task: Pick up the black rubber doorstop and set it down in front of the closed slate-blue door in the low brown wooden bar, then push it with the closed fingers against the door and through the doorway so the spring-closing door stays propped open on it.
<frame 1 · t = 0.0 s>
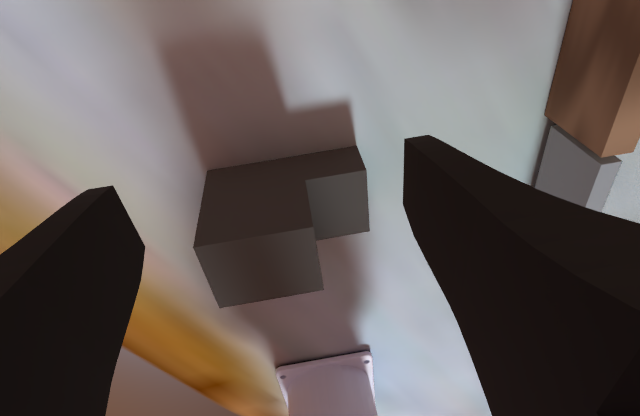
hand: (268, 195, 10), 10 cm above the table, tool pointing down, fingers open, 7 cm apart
door: (546, 254, 25), point 2 cm above the table, hinge at 0.0°
brown wooden bar: (530, 213, 26), on the table
doorstop: (288, 187, 23), on the table
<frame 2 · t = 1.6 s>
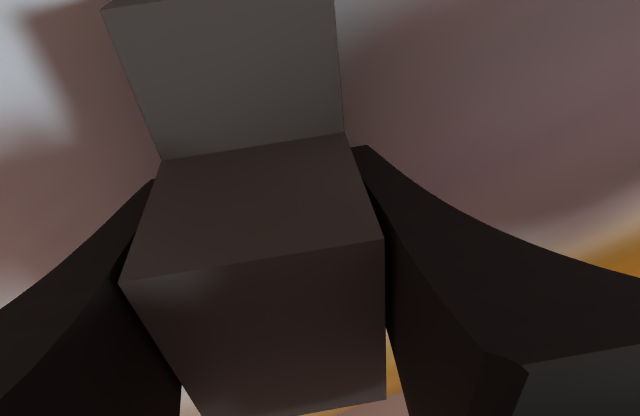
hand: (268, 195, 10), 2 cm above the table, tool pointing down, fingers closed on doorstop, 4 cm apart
doorstop: (261, 134, 11), on the table, touching gripper
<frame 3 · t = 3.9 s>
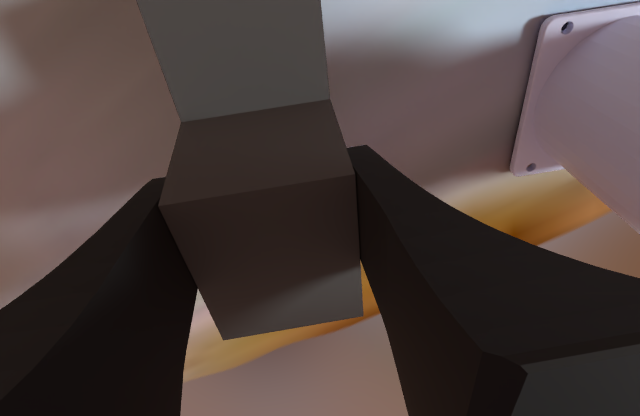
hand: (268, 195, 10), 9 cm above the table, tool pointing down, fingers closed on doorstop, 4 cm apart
doorstop: (261, 103, 13), point 4 cm above the table, touching gripper
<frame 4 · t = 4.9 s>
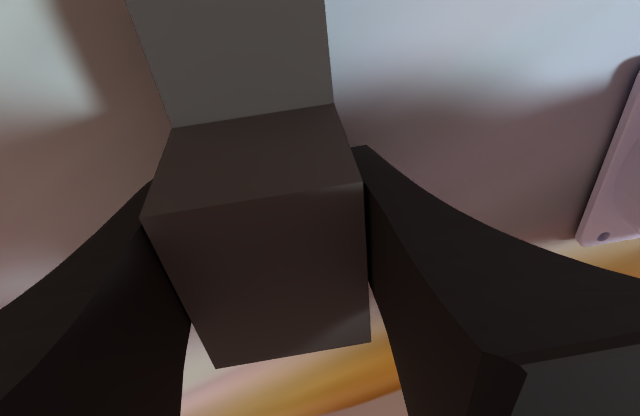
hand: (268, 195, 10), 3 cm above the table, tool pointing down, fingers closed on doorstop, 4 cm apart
doorstop: (261, 111, 12), on the table, touching gripper
when the fingers open (3 cm above the table, at t = 5.3 s): doorstop stays where it is, on the table.
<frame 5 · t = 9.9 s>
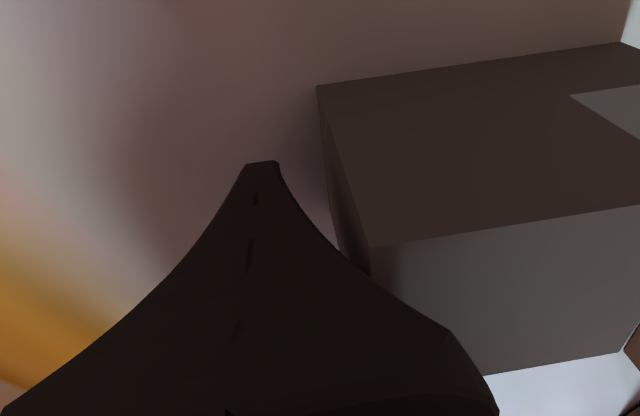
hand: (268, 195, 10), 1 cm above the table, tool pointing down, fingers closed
doorstop: (461, 133, 12), on the table, touching gripper
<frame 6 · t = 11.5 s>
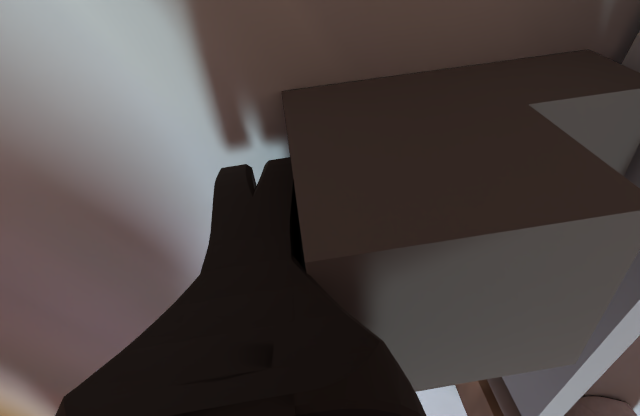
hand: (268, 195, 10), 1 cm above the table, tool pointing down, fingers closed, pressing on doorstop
door: (625, 210, 11), point 2 cm above the table, hinge at 11.6°, touching doorstop
brown wooden bar: (528, 126, 12), on the table
doorstop: (431, 139, 11), on the table, touching door, gripper
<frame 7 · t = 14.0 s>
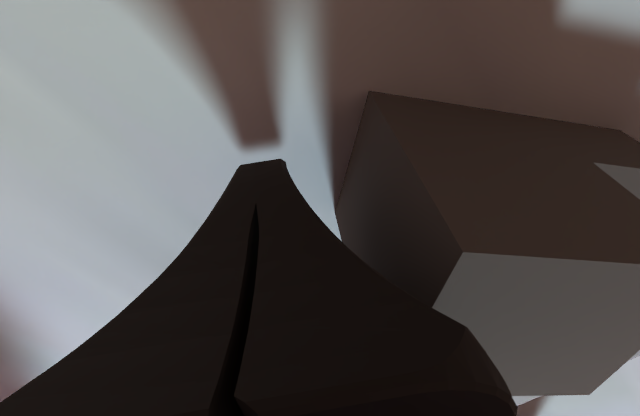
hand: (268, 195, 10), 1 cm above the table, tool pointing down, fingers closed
door: (550, 312, 13), point 2 cm above the table, hinge at 60.7°, touching doorstop
doorstop: (474, 172, 12), on the table, touching door, gripper
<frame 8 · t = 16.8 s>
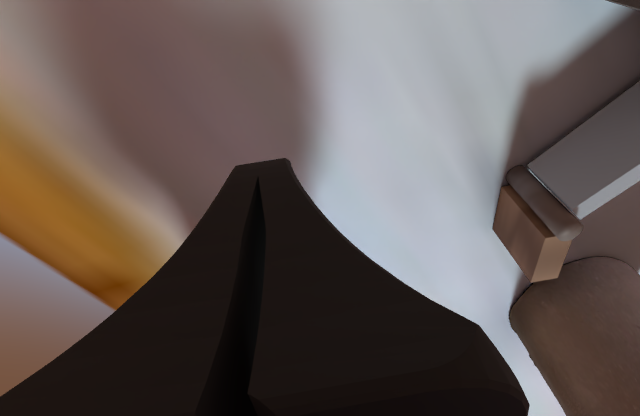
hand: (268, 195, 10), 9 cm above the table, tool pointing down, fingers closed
pillar candle: (569, 296, 31), on the table
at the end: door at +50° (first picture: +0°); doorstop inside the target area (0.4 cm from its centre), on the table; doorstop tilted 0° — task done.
